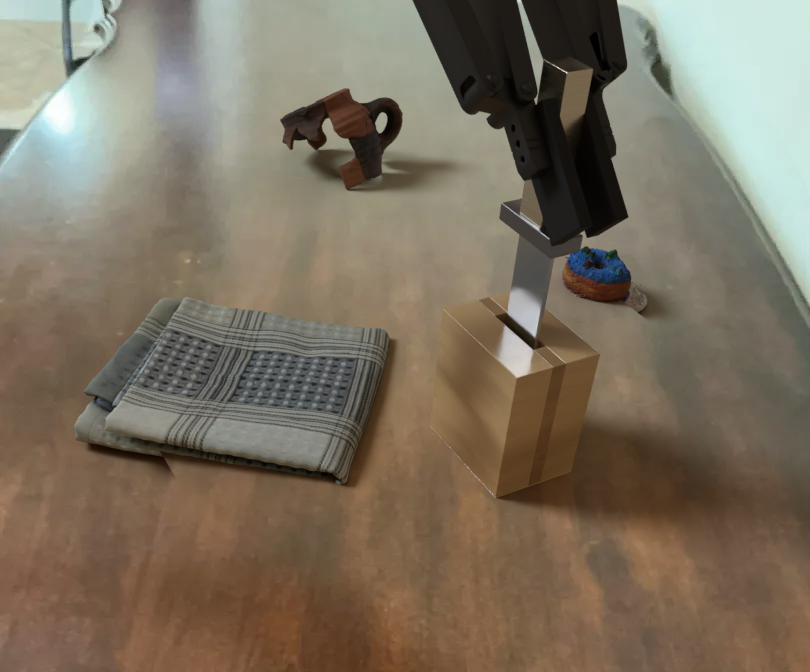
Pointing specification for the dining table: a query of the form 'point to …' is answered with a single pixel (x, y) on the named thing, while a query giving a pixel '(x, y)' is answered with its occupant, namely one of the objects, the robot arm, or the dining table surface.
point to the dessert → (601, 278)
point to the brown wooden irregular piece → (347, 131)
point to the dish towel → (238, 389)
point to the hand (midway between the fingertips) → (589, 231)
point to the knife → (524, 215)
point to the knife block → (510, 395)
